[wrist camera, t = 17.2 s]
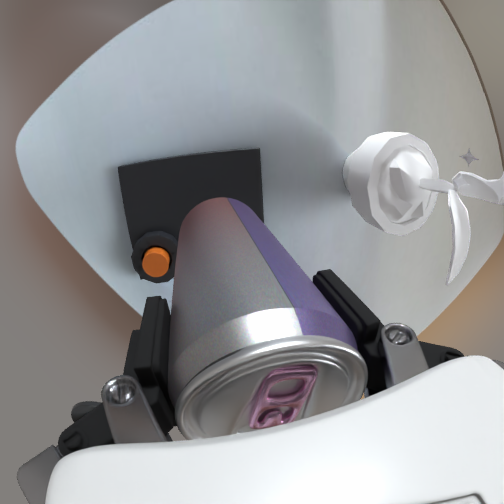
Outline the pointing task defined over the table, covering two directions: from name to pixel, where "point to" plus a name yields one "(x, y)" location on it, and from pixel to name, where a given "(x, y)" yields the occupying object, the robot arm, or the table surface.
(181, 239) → the beverage can
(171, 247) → the push button plate
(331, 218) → the table surface
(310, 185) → the table surface
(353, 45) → the table surface
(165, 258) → the button
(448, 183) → the potted plant
